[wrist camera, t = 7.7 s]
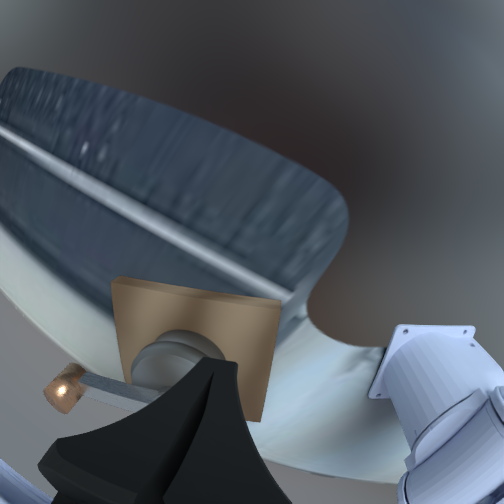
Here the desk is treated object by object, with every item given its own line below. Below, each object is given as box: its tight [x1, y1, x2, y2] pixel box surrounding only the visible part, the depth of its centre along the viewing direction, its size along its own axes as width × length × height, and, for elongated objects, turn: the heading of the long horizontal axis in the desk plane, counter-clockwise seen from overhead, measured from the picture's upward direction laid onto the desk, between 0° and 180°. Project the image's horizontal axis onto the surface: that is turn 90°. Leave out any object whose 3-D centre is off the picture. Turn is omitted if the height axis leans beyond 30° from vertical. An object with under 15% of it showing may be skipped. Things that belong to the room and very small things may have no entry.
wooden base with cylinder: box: [111, 276, 281, 422], centre depth 20 cm, size 13×12×6 cm
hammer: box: [44, 363, 171, 414], centre depth 15 cm, size 10×2×4 cm, turn 88°
